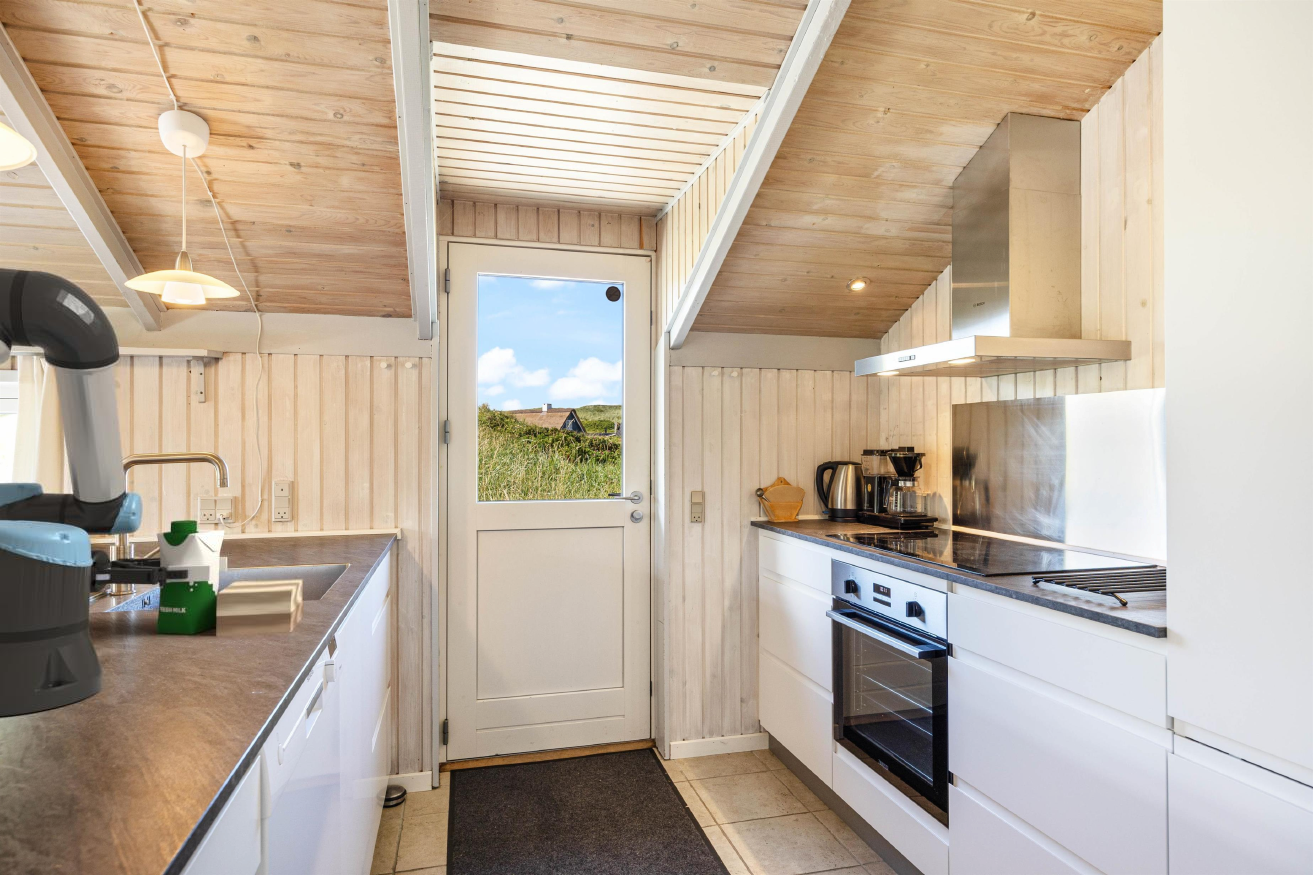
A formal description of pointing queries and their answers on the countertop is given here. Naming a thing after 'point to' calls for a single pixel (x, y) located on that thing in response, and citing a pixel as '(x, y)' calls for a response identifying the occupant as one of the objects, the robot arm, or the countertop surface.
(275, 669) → the countertop surface
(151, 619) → the countertop surface
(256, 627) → the block lower
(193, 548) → the fresh milk carton
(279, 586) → the block upper
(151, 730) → the countertop surface
